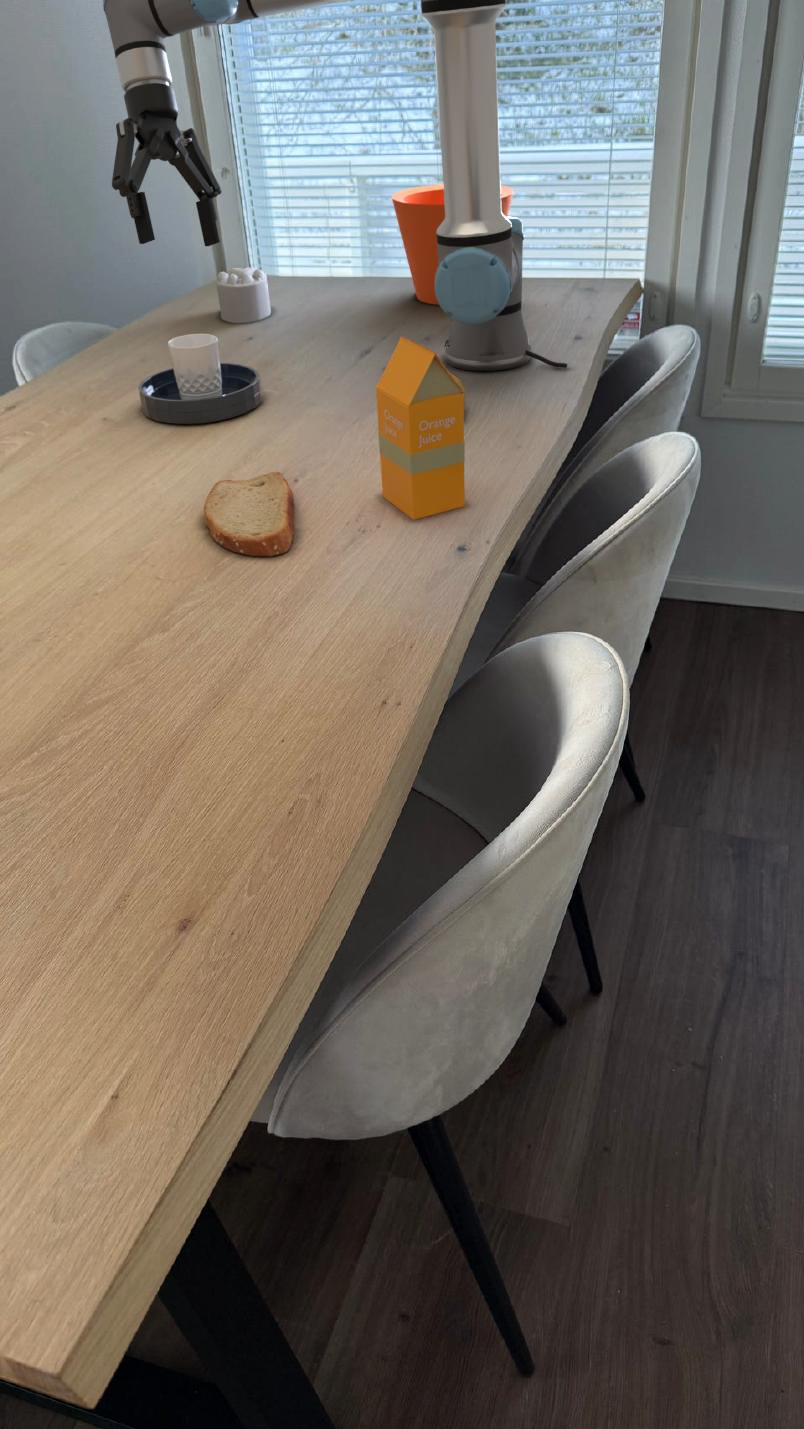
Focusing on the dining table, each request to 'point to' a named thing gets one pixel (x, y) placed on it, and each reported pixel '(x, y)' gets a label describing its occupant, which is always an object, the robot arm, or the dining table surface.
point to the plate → (168, 407)
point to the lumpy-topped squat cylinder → (243, 295)
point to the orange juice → (420, 433)
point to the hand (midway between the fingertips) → (180, 243)
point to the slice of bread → (252, 515)
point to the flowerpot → (427, 232)
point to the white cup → (196, 366)
